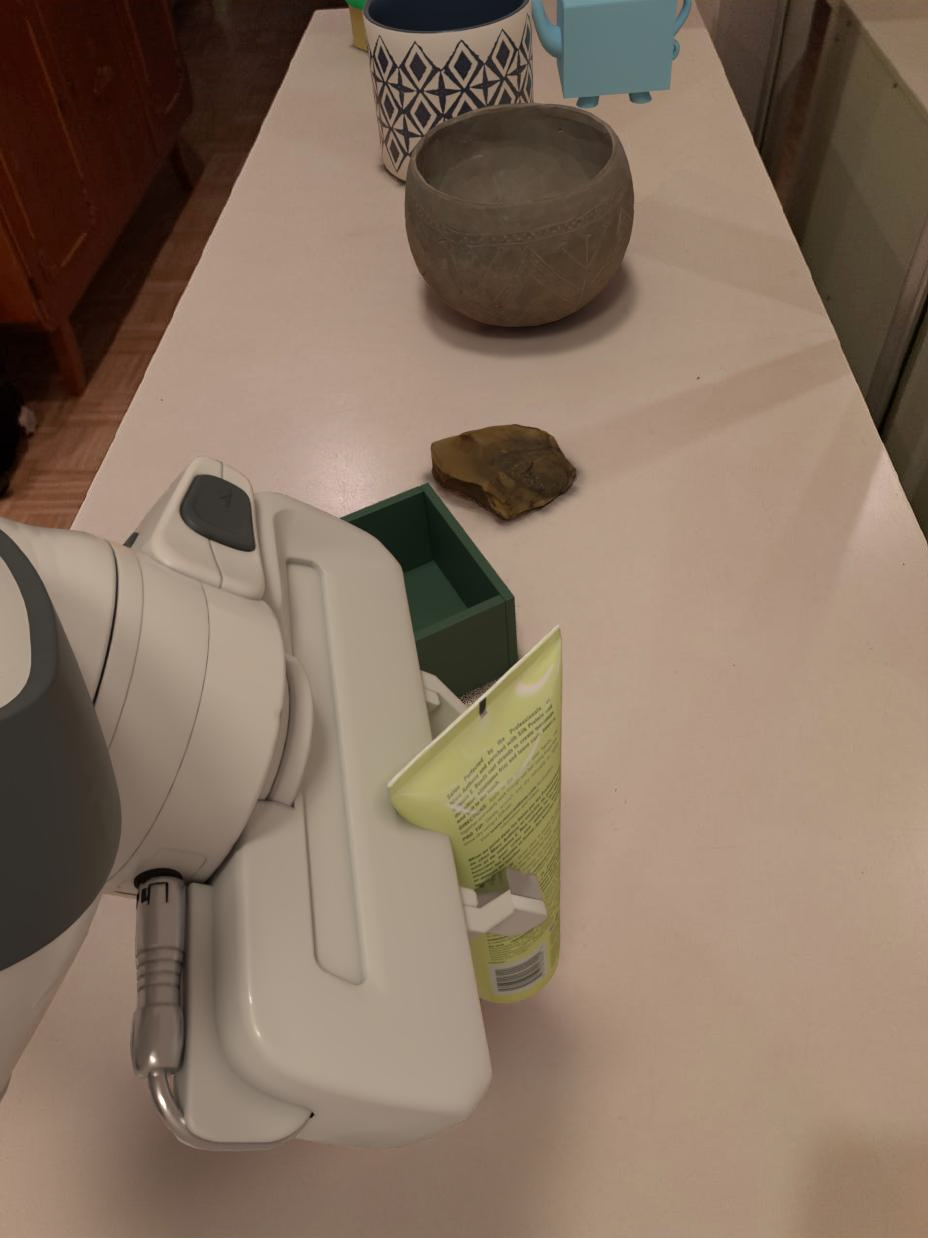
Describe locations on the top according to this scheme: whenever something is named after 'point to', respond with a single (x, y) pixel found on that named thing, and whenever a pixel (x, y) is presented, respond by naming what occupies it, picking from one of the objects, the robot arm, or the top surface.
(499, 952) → the tube
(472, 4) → the planter
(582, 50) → the teapot
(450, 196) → the bowl
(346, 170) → the top surface
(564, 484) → the decorative stone
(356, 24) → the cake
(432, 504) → the bin
